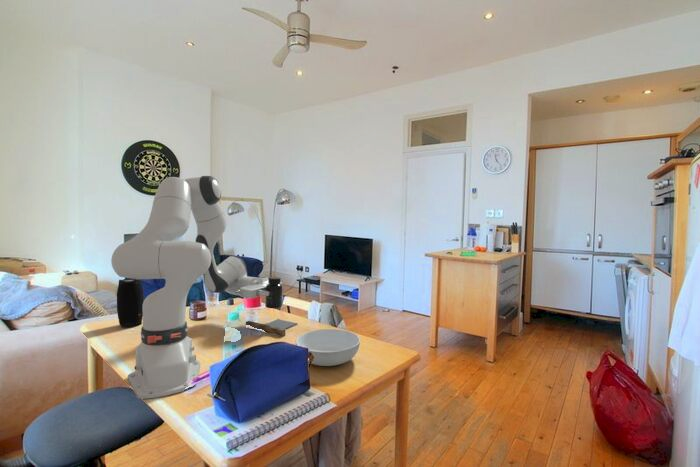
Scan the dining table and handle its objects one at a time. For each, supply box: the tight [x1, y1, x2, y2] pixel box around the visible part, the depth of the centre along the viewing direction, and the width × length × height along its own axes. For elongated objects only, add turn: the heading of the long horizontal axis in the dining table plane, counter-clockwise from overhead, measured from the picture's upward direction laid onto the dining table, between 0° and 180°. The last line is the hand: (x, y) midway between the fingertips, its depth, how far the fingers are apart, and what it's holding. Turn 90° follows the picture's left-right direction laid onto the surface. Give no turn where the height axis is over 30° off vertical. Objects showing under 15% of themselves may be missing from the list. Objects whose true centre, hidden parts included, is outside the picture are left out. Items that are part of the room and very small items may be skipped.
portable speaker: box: [116, 278, 145, 329], centre depth 143 cm, size 9×9×20 cm
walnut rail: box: [245, 320, 286, 338], centre depth 137 cm, size 20×2×2 cm, turn 60°
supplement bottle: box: [264, 276, 284, 309], centre depth 142 cm, size 7×7×12 cm
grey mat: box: [264, 318, 298, 331], centre depth 145 cm, size 11×11×1 cm
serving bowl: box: [295, 328, 361, 367], centre depth 111 cm, size 21×21×7 cm
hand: (276, 291), depth 141 cm, fingers closed on supplement bottle, 7 cm apart
